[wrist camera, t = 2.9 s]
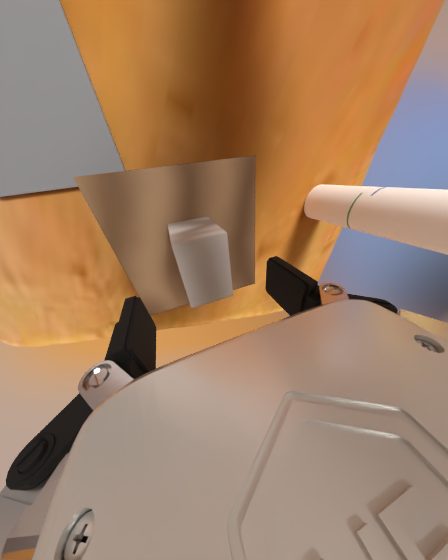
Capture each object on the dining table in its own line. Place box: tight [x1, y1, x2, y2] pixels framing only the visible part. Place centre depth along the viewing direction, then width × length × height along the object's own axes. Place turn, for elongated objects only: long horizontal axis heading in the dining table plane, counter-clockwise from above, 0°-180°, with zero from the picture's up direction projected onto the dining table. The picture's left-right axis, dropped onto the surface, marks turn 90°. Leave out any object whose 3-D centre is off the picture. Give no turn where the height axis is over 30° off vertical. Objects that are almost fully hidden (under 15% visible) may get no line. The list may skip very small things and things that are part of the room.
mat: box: [0, 0, 125, 197], centre depth 18 cm, size 16×16×1 cm
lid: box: [73, 155, 255, 316], centre depth 16 cm, size 15×15×7 cm
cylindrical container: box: [304, 185, 448, 255], centre depth 27 cm, size 7×7×25 cm
